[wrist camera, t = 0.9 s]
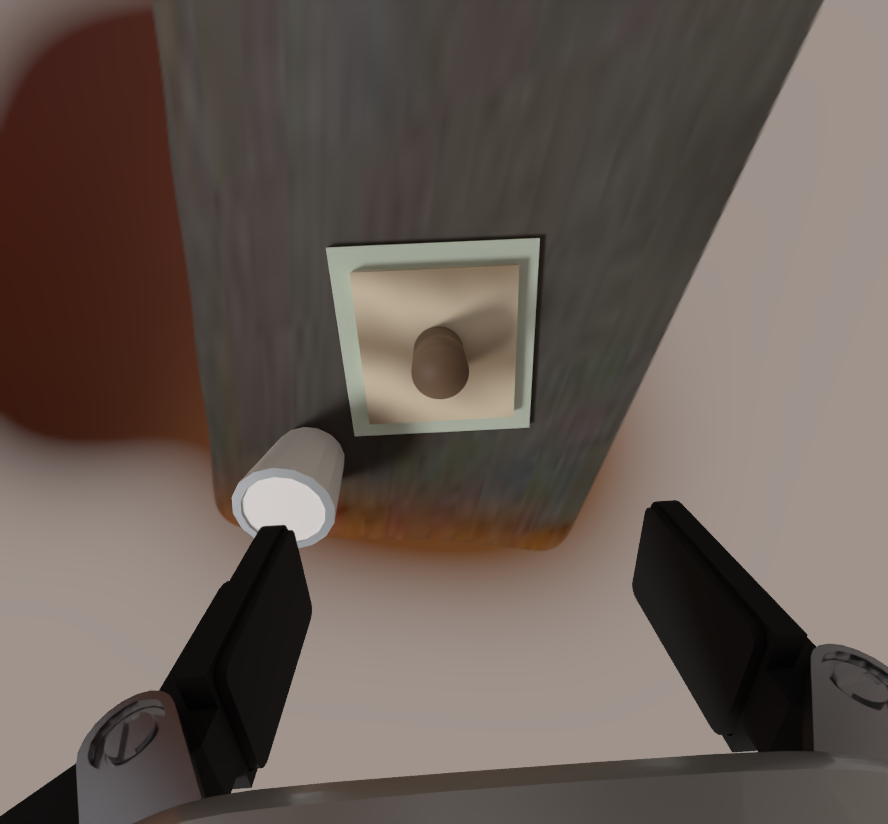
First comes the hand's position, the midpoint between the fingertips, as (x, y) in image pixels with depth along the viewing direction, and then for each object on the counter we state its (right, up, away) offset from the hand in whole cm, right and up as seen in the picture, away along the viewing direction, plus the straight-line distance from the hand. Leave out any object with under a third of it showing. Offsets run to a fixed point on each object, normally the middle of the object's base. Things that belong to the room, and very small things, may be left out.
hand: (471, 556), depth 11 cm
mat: (-1, +9, +19) cm, 21 cm away
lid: (-1, +9, +19) cm, 21 cm away
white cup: (-12, 0, +23) cm, 26 cm away
